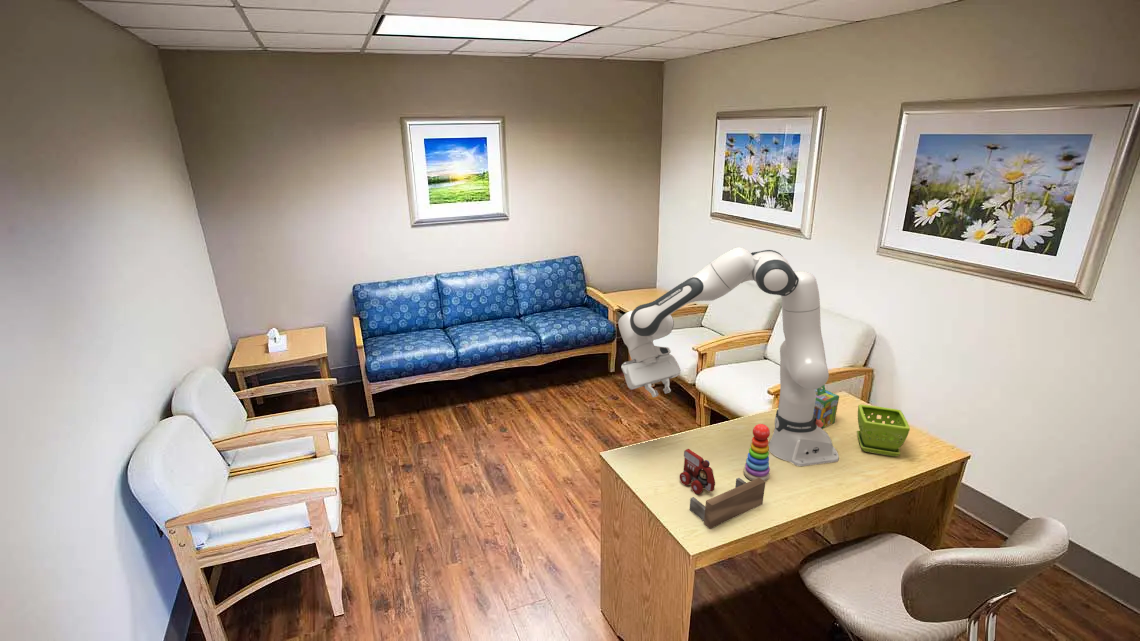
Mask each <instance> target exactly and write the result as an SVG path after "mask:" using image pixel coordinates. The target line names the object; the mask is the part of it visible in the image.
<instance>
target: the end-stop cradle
mask: <svg viewBox="0 0 1140 641" xmlns="http://www.w3.org/2000/svg"><path fill="white" fill-rule="evenodd" d="M765 489H766V481H764V480H762V479H761V478H757V479H754V480H750V481H747V482H746V481H745V480H743V479H742V478H740V477H737V478H736V479H735V486H734V488H731V489H729V490H727V491H725V492H722V493H720V494H718V495H716V496H714V497H711V498H709V499H706V500H705V505H704V504H703V503H702V502H700V500H698V499H697V498H696V497H694V496H693V497H690V499H689V508H688V509H689V510H690V511H691V512H692V513H693V514H694V515H695V516H696V517H698V518H699V519H700V520H701V521H702V522H703V525H704V526H706V527H707V529H709V530H711V529H714V528H715V527H717V526H719V525H723V523H726V522H728V521H730V520H732V519H734V518H736V517H738V516H740V515H743V514H745V513H747V512H749V511H752V510H754V509H756V508H758V507H760V506H762V505H763V503H764V496H765Z"/></svg>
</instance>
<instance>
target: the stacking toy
mask: <svg viewBox="0 0 1140 641" xmlns="http://www.w3.org/2000/svg"><path fill="white" fill-rule="evenodd" d="M752 435H753V437H752V438H751V443H750V447H749V448H748V449H749V450H748V453H747V455H746V456H747V458H746V459H745V465H744V466H745V467H744V468H743V475H744V476H745V477H746V478H747V479H748V480H750V481H752V480H754V479H757V478H761V479H762V480H764V481H765V482H766V481H767V480H769V478H770V476H771V475H770V474H771V473H770V470H771V469H770V462H769V461H770V457H769V454H770V451H769V446H768V444H769V442H770V440H769V439H768V438H769V437H770V435H771V431H770V428H769V427H768V426H767V425H766V424H763V423H758V424H756V425H755V426H754V427H753V428H752Z"/></svg>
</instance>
